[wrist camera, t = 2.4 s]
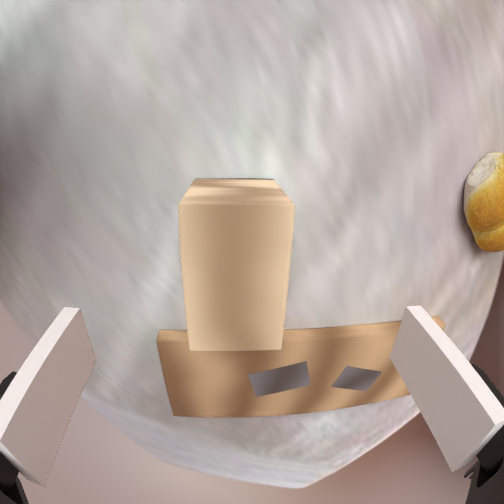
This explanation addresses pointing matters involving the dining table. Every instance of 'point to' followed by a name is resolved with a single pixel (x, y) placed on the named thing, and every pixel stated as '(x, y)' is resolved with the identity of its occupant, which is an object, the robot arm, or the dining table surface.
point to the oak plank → (284, 372)
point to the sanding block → (235, 262)
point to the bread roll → (486, 202)
